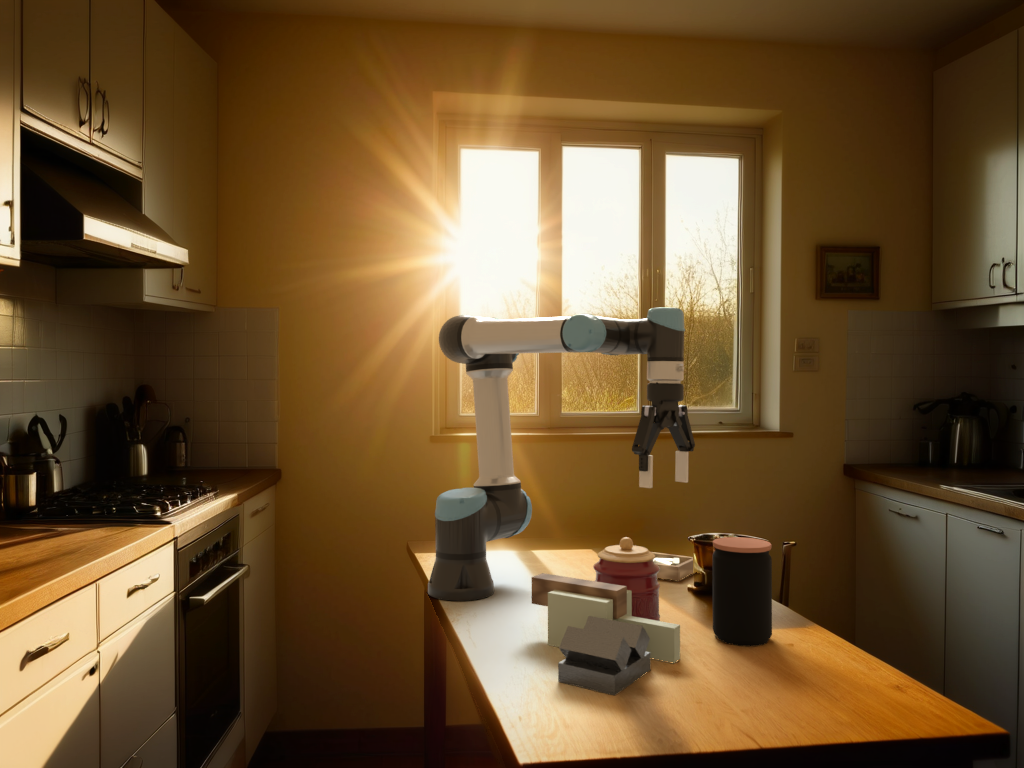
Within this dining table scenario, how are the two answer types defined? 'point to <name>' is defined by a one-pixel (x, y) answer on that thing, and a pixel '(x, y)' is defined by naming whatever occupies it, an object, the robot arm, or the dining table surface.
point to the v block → (604, 655)
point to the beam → (578, 607)
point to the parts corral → (674, 567)
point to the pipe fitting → (667, 561)
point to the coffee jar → (742, 591)
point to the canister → (632, 575)
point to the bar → (579, 590)
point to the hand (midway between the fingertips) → (664, 484)
